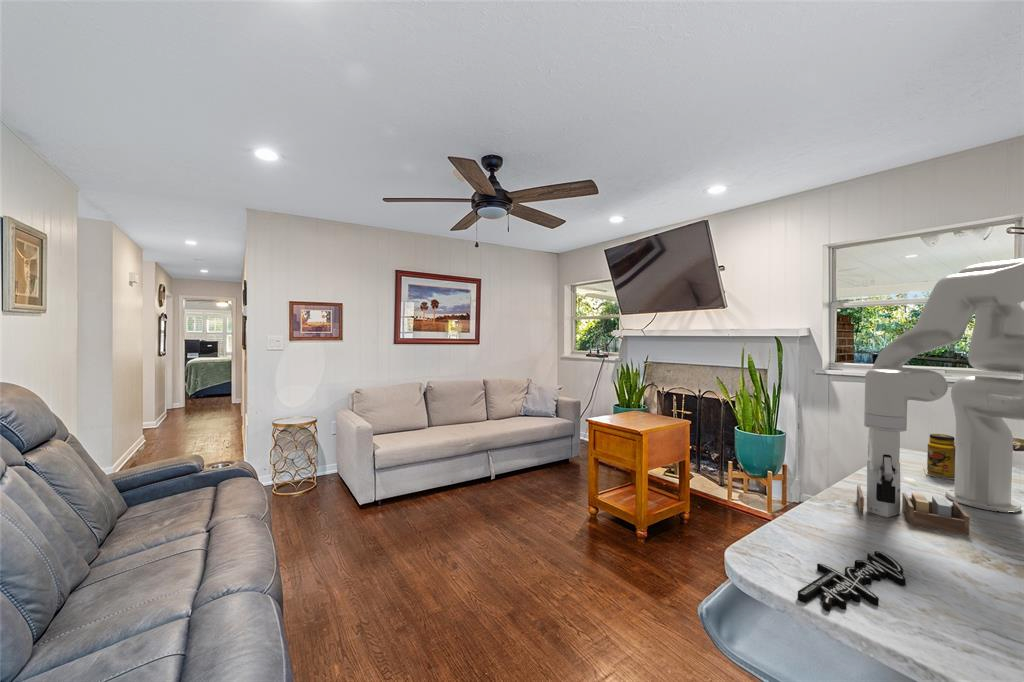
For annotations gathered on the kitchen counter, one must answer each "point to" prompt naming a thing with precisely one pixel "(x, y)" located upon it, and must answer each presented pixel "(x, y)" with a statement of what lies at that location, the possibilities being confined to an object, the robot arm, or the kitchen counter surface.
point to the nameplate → (852, 581)
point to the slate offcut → (940, 507)
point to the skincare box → (879, 506)
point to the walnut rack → (929, 516)
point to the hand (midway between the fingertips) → (883, 496)
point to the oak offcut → (920, 503)
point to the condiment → (941, 456)
